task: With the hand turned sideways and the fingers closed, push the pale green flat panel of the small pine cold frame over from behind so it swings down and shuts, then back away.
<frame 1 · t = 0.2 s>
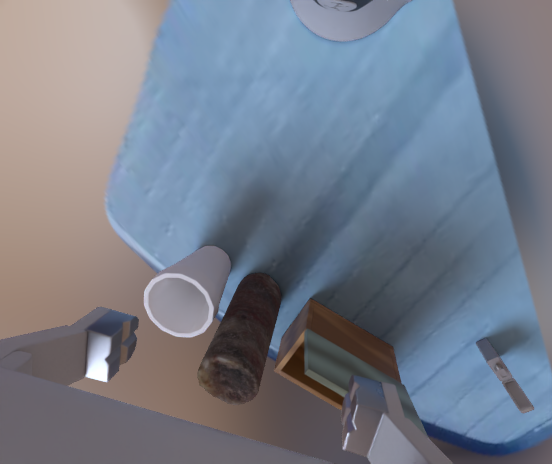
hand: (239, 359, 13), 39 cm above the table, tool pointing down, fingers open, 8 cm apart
pale green flat panel: (360, 380, 43), point 13 cm above the table, hinge at 100.0°
foam cup: (212, 262, 56), on the table
dark brown rough cylinder: (261, 292, 57), on the table
lighter: (492, 355, 54), on the table
cold frame: (336, 341, 57), on the table
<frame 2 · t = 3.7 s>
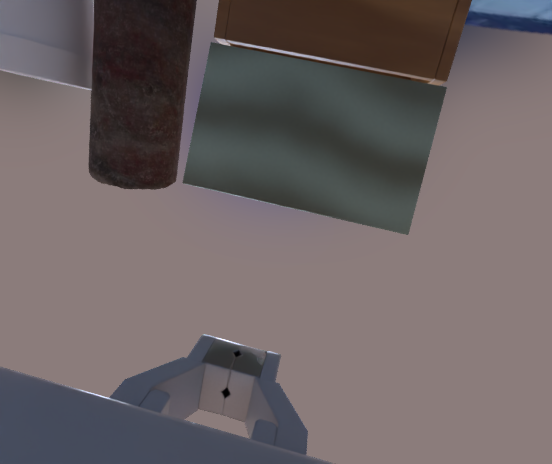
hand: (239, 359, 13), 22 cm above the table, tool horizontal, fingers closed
pale green flat panel: (308, 138, 23), point 13 cm above the table, hinge at 100.0°
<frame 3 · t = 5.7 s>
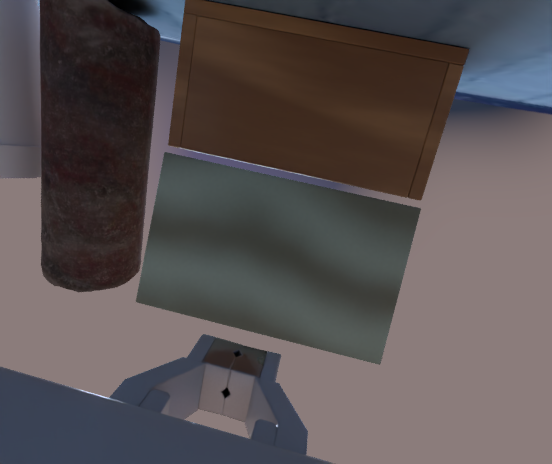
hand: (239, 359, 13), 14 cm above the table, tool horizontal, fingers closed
pale green flat panel: (272, 256, 21), point 13 cm above the table, hinge at 100.0°
cold frame: (323, 45, 23), on the table
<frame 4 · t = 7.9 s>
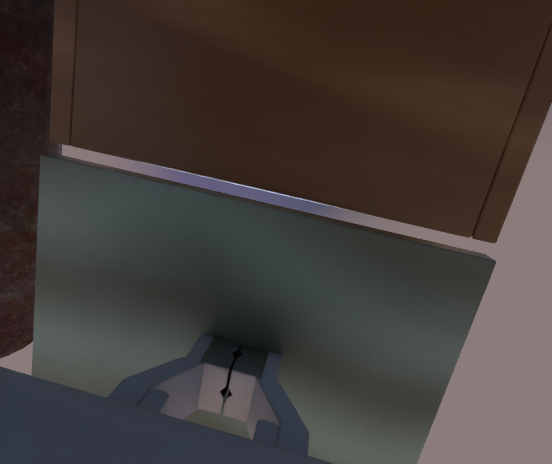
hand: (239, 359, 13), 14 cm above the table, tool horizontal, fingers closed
pale green flat panel: (234, 326, 13), point 13 cm above the table, hinge at 90.6°, touching gripper
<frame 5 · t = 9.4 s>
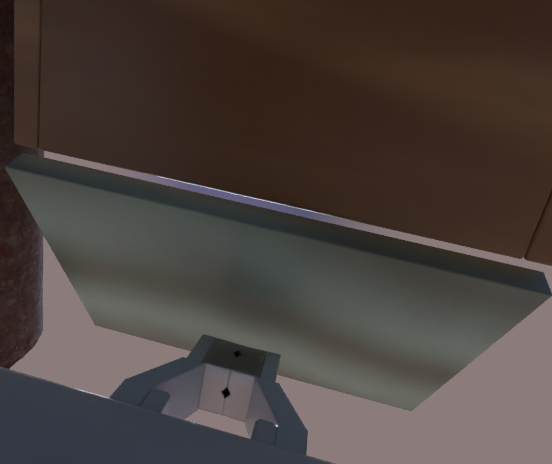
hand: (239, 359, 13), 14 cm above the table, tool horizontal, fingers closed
pale green flat panel: (254, 306, 13), point 13 cm above the table, hinge at 58.6°
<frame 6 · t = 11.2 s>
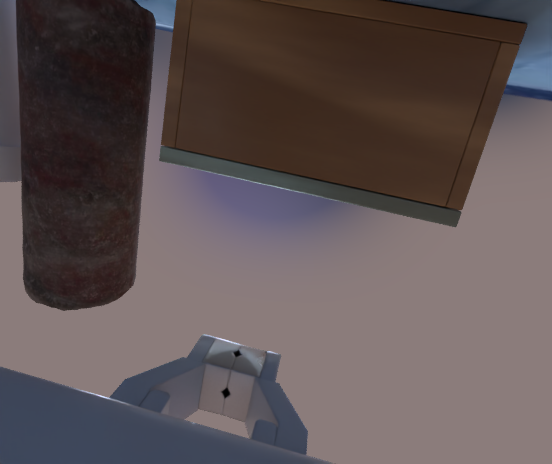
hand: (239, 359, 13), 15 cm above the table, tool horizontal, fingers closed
pale green flat panel: (309, 176, 22), point 9 cm above the table, hinge at -0.3°
cold frame: (342, 27, 20), on the table
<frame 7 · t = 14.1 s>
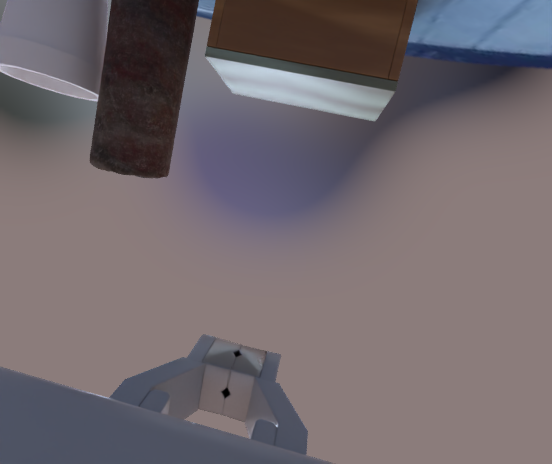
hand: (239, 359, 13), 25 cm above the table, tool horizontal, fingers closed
pale green flat panel: (301, 88, 32), point 9 cm above the table, hinge at -0.3°
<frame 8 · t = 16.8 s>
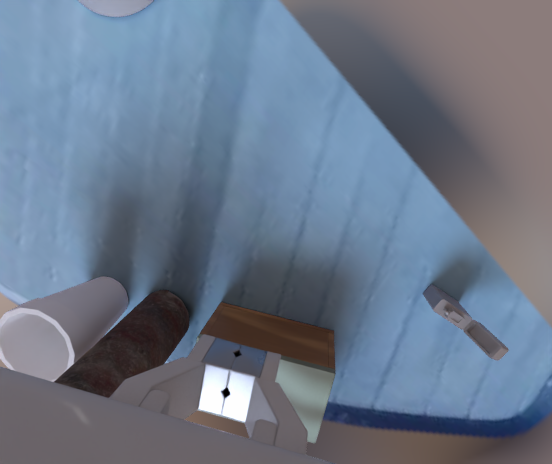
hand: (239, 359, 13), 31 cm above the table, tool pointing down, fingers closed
pale green flat panel: (257, 388, 40), point 9 cm above the table, hinge at -0.3°
foam cup: (108, 296, 50), on the table
dark brown rough cylinder: (169, 313, 49), on the table
lighter: (449, 304, 43), on the table
cold frame: (270, 345, 48), on the table
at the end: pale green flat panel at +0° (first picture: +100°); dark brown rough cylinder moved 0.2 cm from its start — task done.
